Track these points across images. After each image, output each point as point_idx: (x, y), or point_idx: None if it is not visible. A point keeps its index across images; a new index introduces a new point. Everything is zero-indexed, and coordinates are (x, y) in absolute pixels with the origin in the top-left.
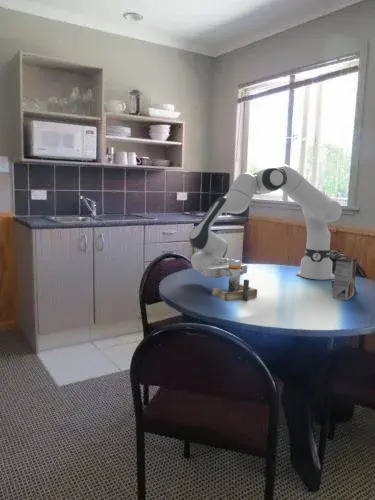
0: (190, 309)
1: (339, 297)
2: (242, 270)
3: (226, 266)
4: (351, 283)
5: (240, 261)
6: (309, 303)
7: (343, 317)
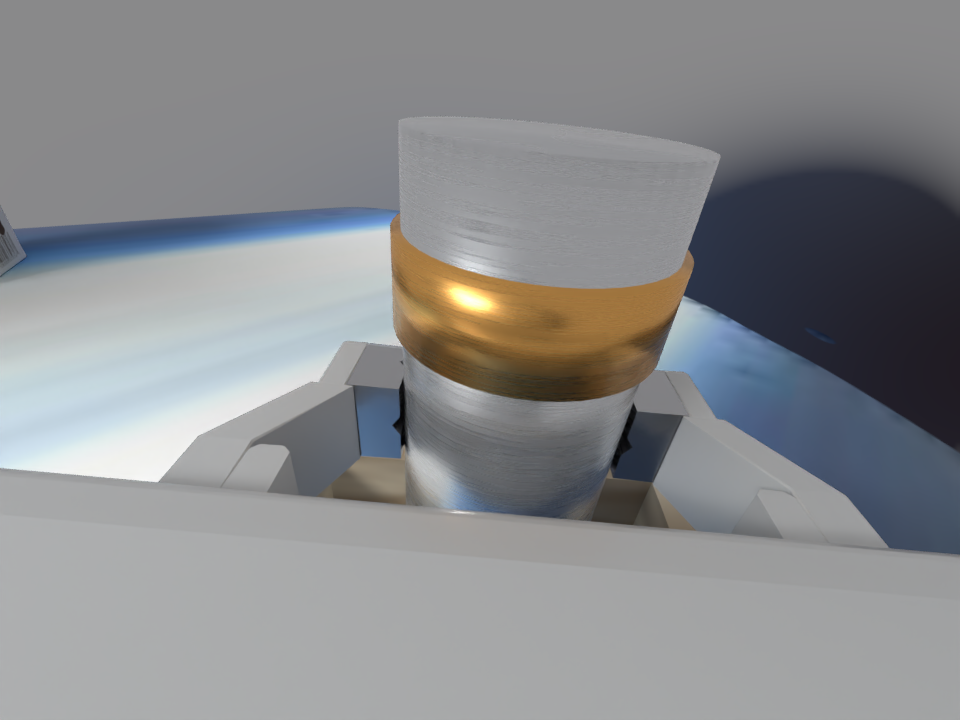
0: None
1: (5, 263)
2: (346, 342)
3: (605, 611)
4: None
5: (478, 120)
6: (222, 294)
7: (330, 229)
